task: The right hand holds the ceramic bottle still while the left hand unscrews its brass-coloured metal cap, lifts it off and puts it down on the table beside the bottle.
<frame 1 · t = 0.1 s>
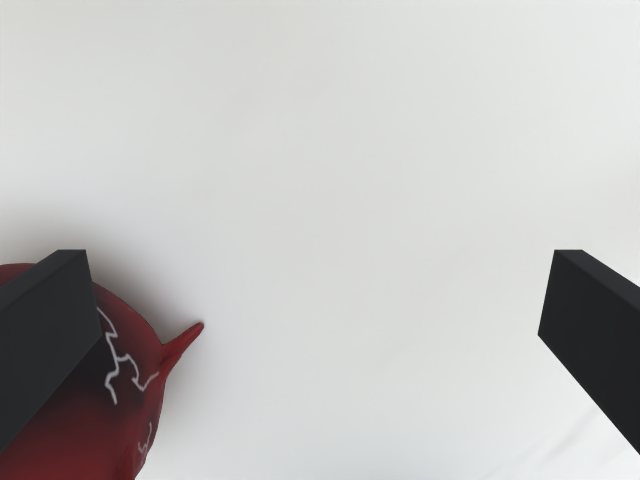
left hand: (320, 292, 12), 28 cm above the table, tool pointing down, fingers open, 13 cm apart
decorative skull: (78, 346, 46), on the table
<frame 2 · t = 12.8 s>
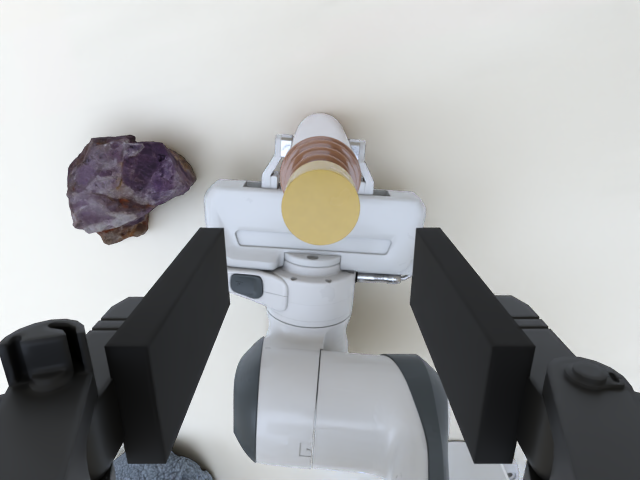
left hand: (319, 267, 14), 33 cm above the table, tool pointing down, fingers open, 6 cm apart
right hand: (320, 137, 39), fingers closed on bottle, 5 cm apart
rock: (142, 177, 47), on the table
cap: (320, 206, 21), point 26 cm above the table, screwed on, not yet turned
bottle: (320, 138, 45), on the table, touching right hand
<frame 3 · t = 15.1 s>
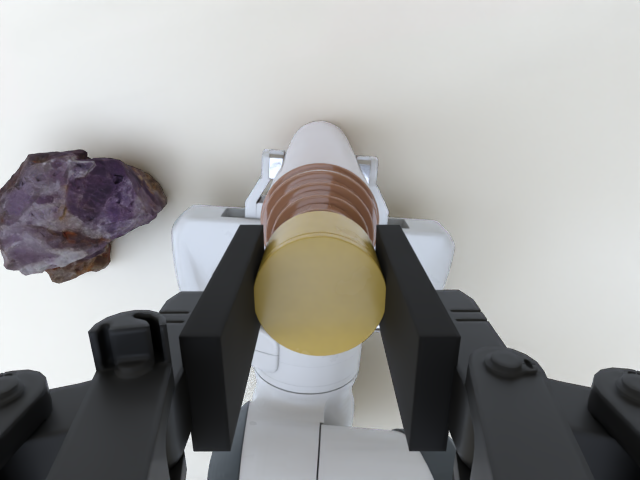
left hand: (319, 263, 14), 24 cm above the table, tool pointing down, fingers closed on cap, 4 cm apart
rock: (102, 199, 38), on the table
cap: (319, 294, 12), point 26 cm above the table, screwed on, not yet turned, touching left hand
bottle: (319, 152, 37), on the table, touching right hand
when the left hand's fingers open (1 cm above the table, at t = 33.1 s): cap drops 1 cm, point 2 cm above the table.
when the right hand's fingers open (7 cm above the table, at t = 34.4 s): bottle stays where it is, on the table.
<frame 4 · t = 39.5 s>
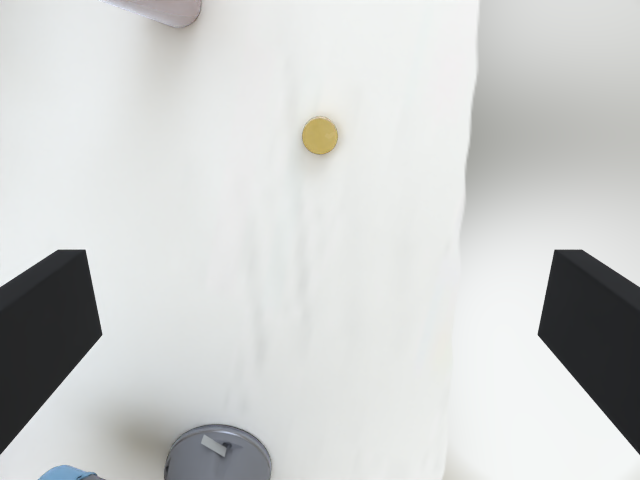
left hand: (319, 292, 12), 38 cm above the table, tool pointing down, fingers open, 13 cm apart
cap: (319, 136, 46), point 2 cm above the table, off its thread
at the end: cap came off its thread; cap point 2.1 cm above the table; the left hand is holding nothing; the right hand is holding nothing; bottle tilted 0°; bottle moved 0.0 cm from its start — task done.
